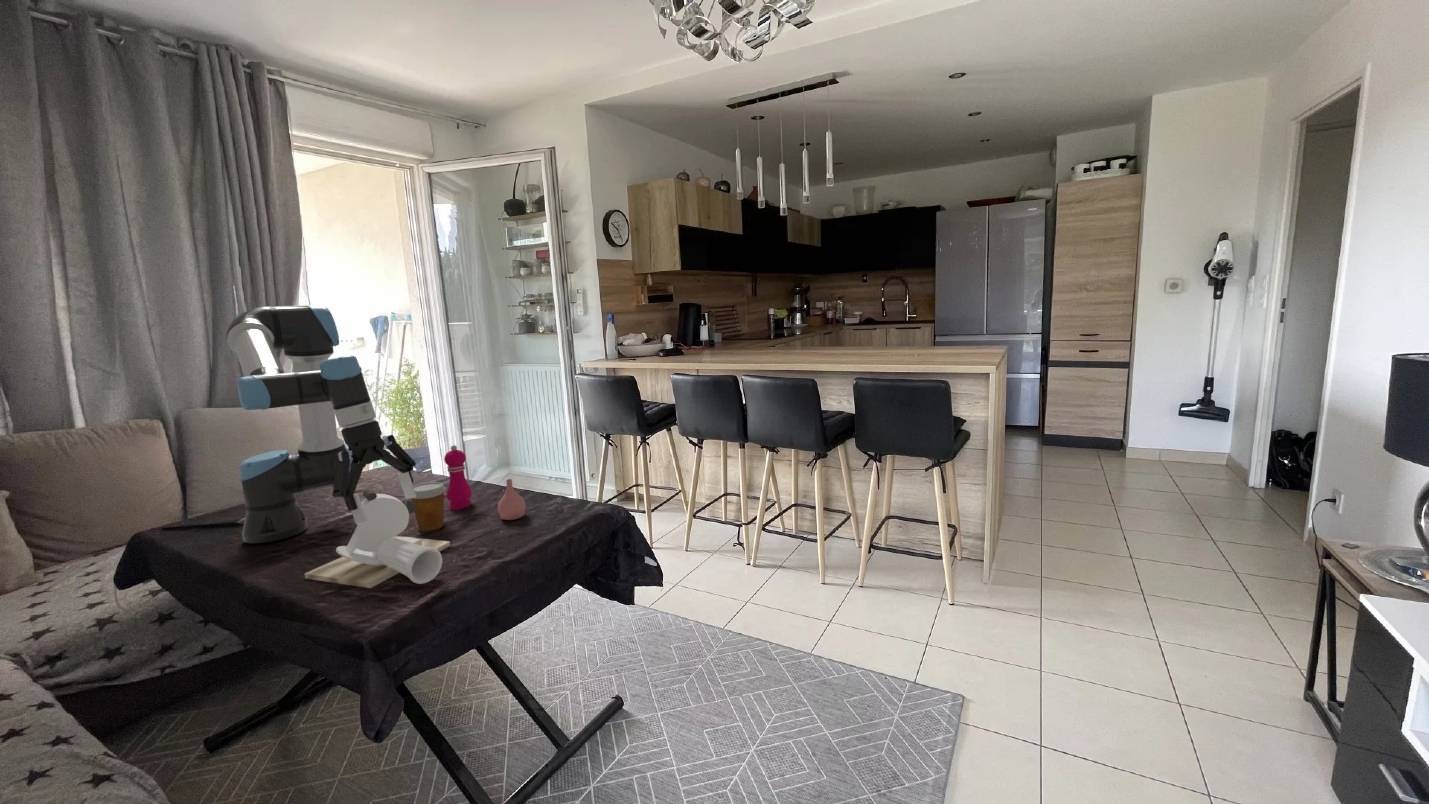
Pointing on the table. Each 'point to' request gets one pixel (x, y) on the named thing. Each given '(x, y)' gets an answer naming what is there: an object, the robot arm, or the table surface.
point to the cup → (410, 559)
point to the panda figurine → (376, 526)
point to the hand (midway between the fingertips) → (387, 510)
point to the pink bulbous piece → (511, 504)
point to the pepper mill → (457, 479)
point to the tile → (411, 540)
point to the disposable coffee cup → (429, 505)
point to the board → (362, 569)
